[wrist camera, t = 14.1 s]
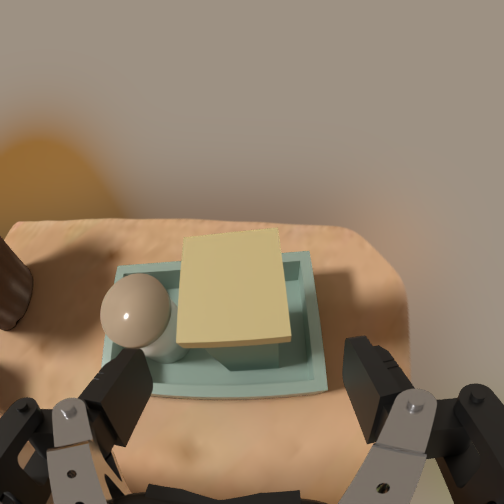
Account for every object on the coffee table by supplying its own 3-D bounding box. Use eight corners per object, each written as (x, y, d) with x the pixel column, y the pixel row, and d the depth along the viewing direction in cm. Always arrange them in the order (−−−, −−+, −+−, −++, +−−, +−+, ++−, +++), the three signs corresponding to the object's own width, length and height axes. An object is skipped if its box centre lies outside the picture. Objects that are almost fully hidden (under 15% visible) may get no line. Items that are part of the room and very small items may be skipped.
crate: (125, 393, 25) (99, 386, 20) (136, 286, 32) (117, 265, 27) (319, 393, 23) (327, 390, 19) (305, 275, 30) (309, 250, 26)
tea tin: (224, 376, 24) (176, 342, 13) (222, 313, 28) (183, 237, 17) (285, 372, 24) (291, 335, 13) (279, 308, 28) (277, 227, 17)
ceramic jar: (137, 363, 25) (95, 343, 19) (142, 308, 29) (107, 275, 22) (194, 366, 25) (164, 347, 19) (196, 307, 29) (171, 271, 22)
